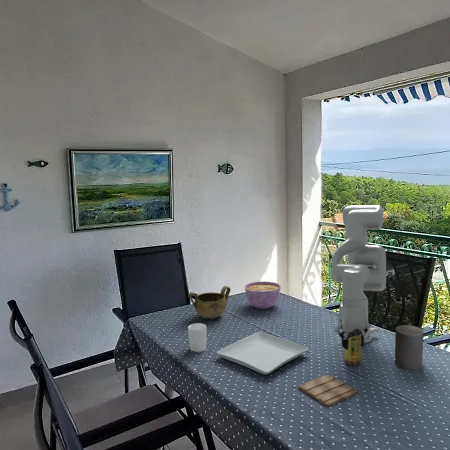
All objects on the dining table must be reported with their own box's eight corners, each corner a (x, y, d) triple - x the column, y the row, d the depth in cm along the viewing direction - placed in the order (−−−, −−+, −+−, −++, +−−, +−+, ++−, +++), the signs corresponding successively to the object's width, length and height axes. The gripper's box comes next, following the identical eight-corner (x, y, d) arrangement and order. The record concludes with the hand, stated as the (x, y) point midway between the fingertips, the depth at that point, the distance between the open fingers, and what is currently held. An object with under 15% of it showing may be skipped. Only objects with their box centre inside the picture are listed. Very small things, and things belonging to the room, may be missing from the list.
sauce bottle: (352, 368, 156) (351, 317, 153) (340, 361, 161) (339, 312, 158) (365, 363, 159) (364, 313, 156) (353, 357, 164) (352, 309, 161)
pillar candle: (389, 361, 160) (389, 324, 158) (407, 356, 164) (408, 320, 161) (409, 373, 151) (410, 333, 149) (428, 367, 155) (430, 328, 153)
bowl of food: (288, 305, 230) (288, 285, 229) (266, 315, 216) (265, 293, 215) (260, 298, 244) (259, 279, 243) (237, 307, 230) (236, 287, 228)
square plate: (259, 338, 188) (258, 330, 187) (310, 356, 168) (310, 347, 168) (215, 359, 169) (214, 350, 168) (267, 381, 150) (267, 371, 149)
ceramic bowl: (224, 308, 229) (223, 282, 227) (237, 318, 214) (236, 289, 212) (185, 315, 220) (184, 288, 218) (196, 326, 205) (195, 296, 203)
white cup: (210, 346, 180) (209, 324, 179) (202, 354, 173) (200, 331, 172) (194, 344, 184) (193, 322, 182) (185, 351, 177) (184, 328, 175)
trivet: (327, 376, 151) (327, 373, 150) (357, 393, 139) (357, 390, 139) (297, 388, 143) (297, 385, 143) (327, 406, 132) (327, 403, 131)
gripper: (366, 295, 162) (366, 339, 165) (327, 301, 158) (327, 346, 160) (378, 301, 155) (378, 346, 158) (337, 307, 151) (338, 354, 153)
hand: (352, 346), depth 159 cm, fingers closed on sauce bottle, 6 cm apart
